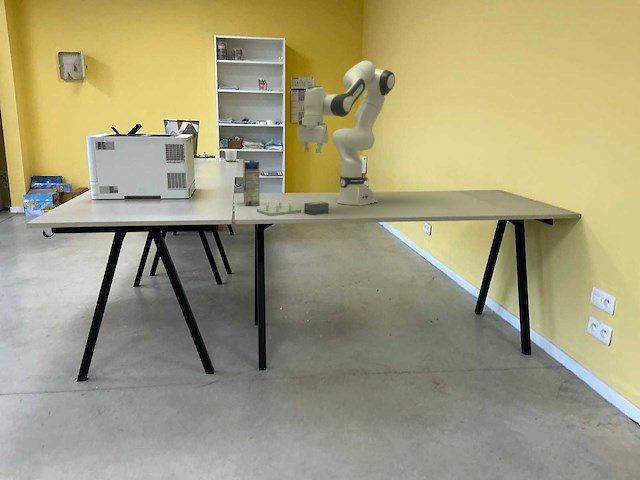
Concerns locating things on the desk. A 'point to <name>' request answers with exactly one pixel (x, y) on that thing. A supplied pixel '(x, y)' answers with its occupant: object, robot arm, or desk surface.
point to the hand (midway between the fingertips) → (312, 152)
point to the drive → (316, 208)
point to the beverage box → (251, 182)
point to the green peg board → (278, 209)
